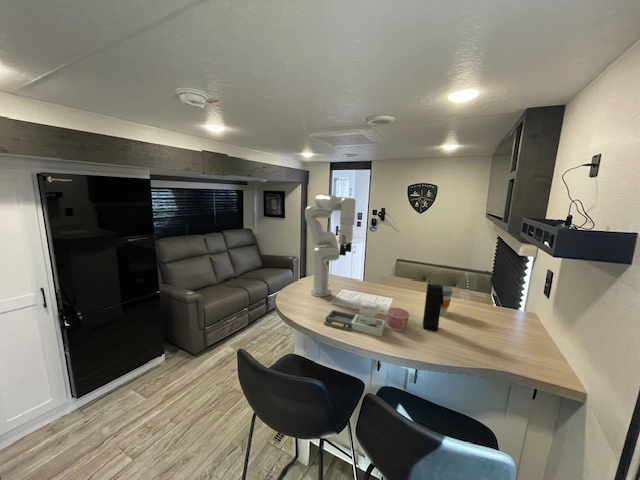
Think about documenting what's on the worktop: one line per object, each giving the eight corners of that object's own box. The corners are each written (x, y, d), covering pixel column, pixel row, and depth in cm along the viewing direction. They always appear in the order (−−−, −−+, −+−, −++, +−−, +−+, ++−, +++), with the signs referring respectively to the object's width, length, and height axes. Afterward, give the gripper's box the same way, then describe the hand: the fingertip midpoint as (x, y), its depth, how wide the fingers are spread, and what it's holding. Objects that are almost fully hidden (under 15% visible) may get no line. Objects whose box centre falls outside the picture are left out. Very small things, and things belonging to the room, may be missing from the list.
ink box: (376, 324, 128) (378, 303, 126) (376, 329, 124) (377, 307, 122) (359, 322, 130) (360, 300, 128) (358, 326, 126) (359, 304, 124)
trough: (356, 320, 134) (356, 314, 134) (384, 326, 128) (385, 320, 128) (350, 329, 125) (351, 322, 125) (381, 336, 119) (381, 329, 119)
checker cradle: (333, 313, 141) (333, 308, 141) (358, 318, 136) (358, 313, 135) (323, 324, 129) (324, 319, 128) (350, 331, 123) (350, 325, 123)
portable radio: (438, 326, 131) (444, 280, 126) (440, 332, 125) (446, 284, 121) (422, 323, 133) (427, 278, 129) (423, 329, 128) (428, 281, 123)
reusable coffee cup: (443, 319, 139) (447, 293, 137) (421, 310, 148) (424, 286, 146) (453, 312, 147) (456, 288, 145) (431, 305, 157) (434, 282, 154)
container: (385, 329, 126) (386, 314, 125) (387, 320, 136) (388, 306, 134) (407, 334, 122) (409, 318, 121) (407, 324, 132) (409, 309, 131)
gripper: (345, 219, 143) (343, 249, 146) (334, 222, 127) (333, 255, 130) (358, 220, 140) (356, 251, 143) (349, 223, 124) (347, 257, 127)
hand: (345, 253), depth 136 cm, fingers open, 9 cm apart
